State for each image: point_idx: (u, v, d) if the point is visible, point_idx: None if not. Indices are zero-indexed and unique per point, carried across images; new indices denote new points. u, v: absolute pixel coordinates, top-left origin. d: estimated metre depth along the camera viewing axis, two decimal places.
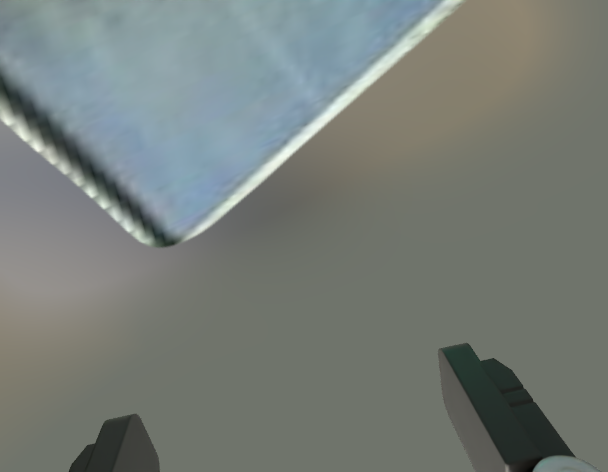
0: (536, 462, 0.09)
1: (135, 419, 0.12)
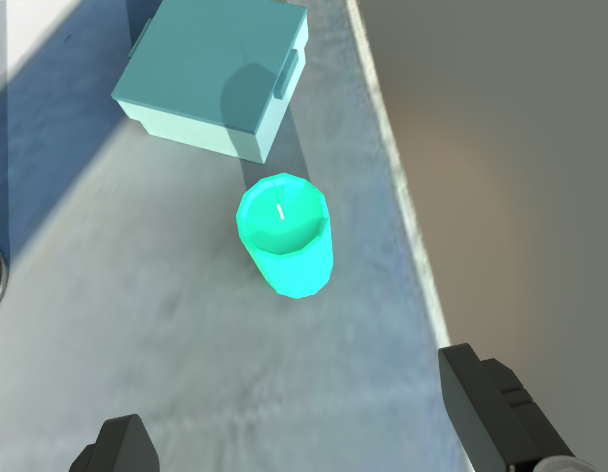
0: (536, 462, 0.09)
1: (135, 419, 0.12)
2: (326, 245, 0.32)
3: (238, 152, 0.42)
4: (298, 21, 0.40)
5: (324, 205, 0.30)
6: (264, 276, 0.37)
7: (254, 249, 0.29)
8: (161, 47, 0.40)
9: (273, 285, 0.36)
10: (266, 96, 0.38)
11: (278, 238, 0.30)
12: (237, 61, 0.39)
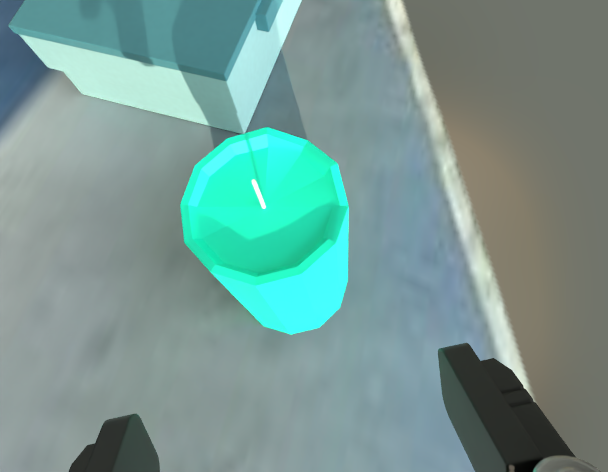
0: (536, 462, 0.09)
1: (135, 419, 0.12)
2: (341, 255, 0.19)
3: (206, 116, 0.29)
4: None
5: (339, 183, 0.16)
6: None
7: (210, 265, 0.15)
8: None
9: (255, 317, 0.23)
10: (243, 22, 0.24)
11: (255, 244, 0.16)
12: None
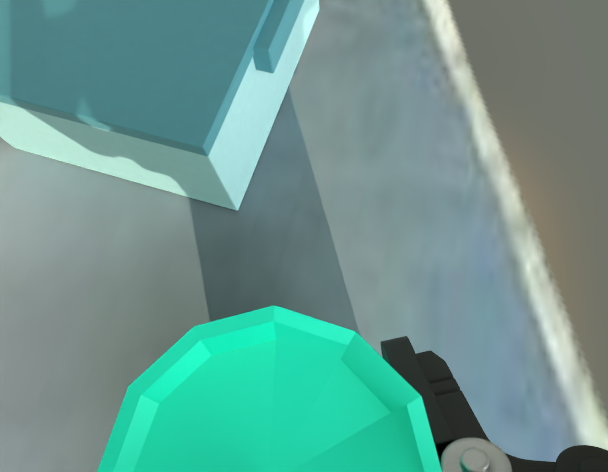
0: (450, 444, 0.09)
1: None
2: None
3: (183, 187, 0.20)
4: None
5: (427, 442, 0.08)
6: None
7: None
8: None
9: None
10: (235, 62, 0.16)
11: None
12: None
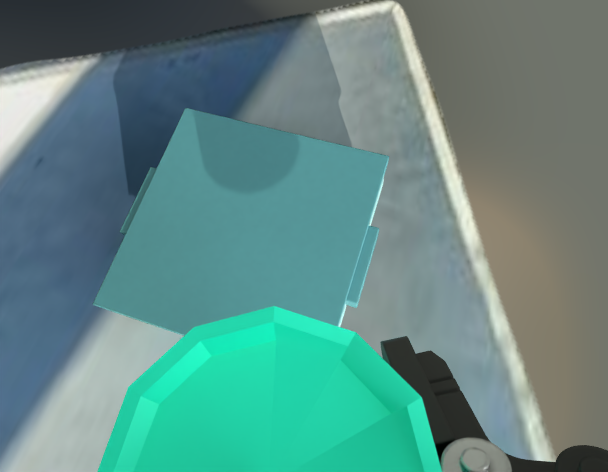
0: (450, 444, 0.09)
1: None
2: None
3: None
4: (377, 180, 0.26)
5: (427, 442, 0.08)
6: None
7: None
8: (169, 220, 0.27)
9: None
10: (336, 315, 0.24)
11: None
12: (286, 249, 0.25)
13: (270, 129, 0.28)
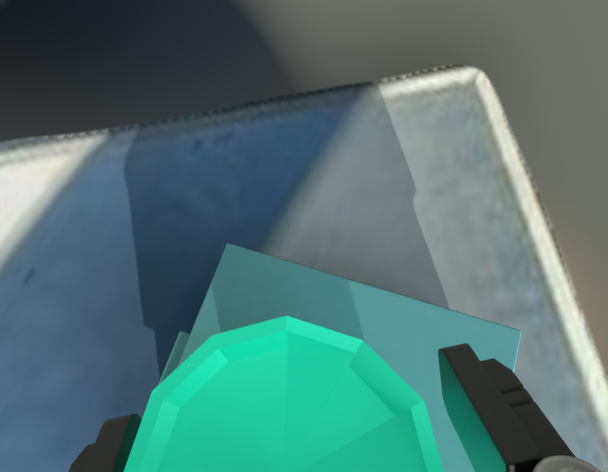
0: (536, 462, 0.09)
1: (135, 419, 0.12)
2: None
3: None
4: None
5: (429, 442, 0.08)
6: None
7: None
8: None
9: None
10: None
11: None
12: None
13: (347, 281, 0.20)
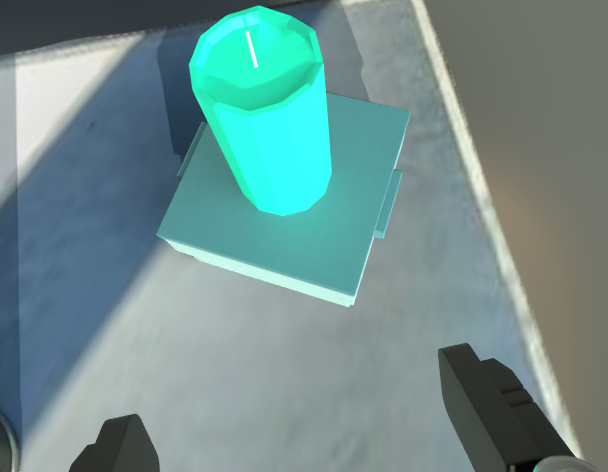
0: (536, 462, 0.09)
1: (135, 419, 0.12)
2: (320, 117, 0.23)
3: (317, 294, 0.33)
4: (401, 131, 0.30)
5: (316, 45, 0.21)
6: (239, 183, 0.28)
7: (213, 103, 0.20)
8: (220, 165, 0.31)
9: (251, 192, 0.27)
10: (367, 241, 0.28)
11: (249, 92, 0.20)
12: None
13: None
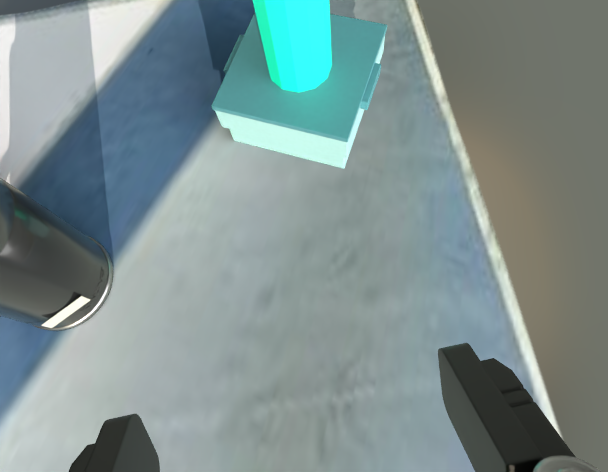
0: (536, 462, 0.09)
1: (135, 419, 0.12)
2: (325, 8, 0.36)
3: (321, 157, 0.46)
4: (380, 38, 0.44)
5: None
6: (270, 67, 0.41)
7: None
8: (254, 62, 0.44)
9: (278, 70, 0.40)
10: (356, 107, 0.41)
11: None
12: None
13: None
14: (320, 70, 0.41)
